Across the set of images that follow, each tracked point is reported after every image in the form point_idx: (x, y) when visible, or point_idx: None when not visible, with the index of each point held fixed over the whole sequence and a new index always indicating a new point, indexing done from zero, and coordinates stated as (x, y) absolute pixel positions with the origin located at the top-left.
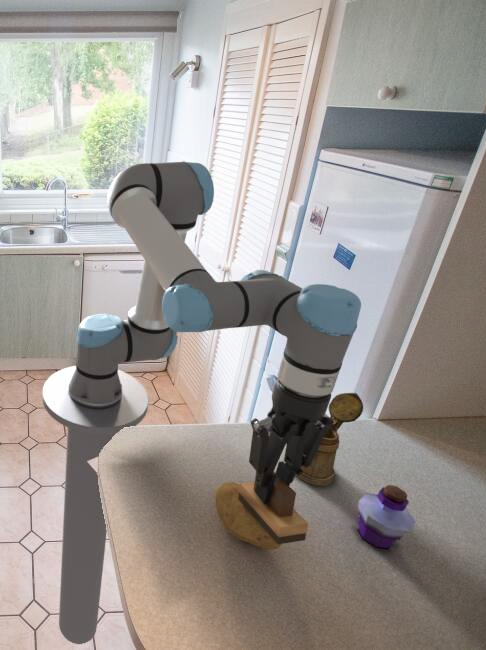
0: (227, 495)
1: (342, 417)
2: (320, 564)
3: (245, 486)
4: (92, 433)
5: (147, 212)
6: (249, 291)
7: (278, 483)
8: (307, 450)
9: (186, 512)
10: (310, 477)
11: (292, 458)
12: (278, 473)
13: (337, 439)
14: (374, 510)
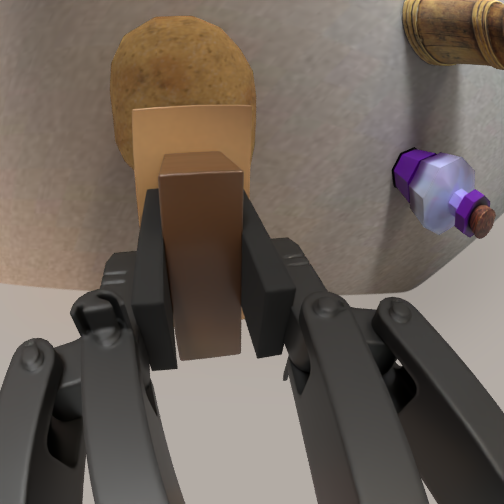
0: (127, 78)
1: None
2: (289, 196)
3: (142, 131)
4: None
5: None
6: None
7: (203, 304)
8: (407, 434)
9: (74, 48)
10: (421, 45)
11: (305, 418)
12: (246, 258)
13: None
14: (439, 198)
